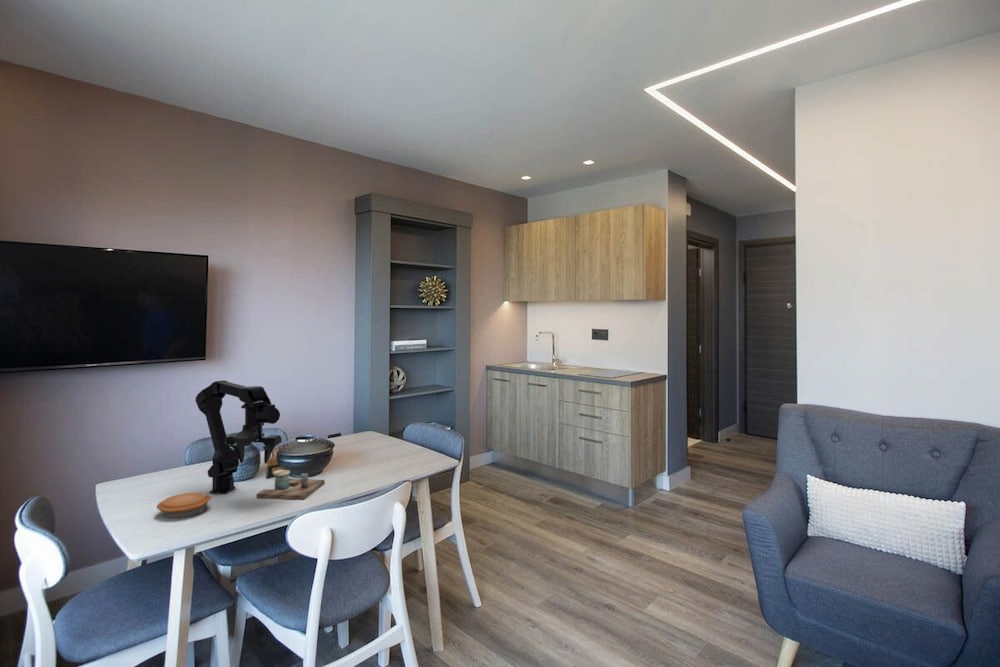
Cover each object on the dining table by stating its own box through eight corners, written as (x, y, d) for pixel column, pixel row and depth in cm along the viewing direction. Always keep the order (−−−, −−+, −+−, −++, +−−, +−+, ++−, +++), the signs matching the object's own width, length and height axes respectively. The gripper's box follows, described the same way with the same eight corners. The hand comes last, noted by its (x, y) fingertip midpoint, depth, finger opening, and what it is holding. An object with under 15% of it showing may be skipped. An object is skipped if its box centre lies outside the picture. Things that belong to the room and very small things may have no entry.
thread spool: (270, 492, 186) (270, 473, 186) (278, 487, 192) (278, 469, 192) (285, 493, 186) (285, 474, 186) (292, 487, 192) (292, 469, 192)
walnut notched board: (256, 497, 181) (256, 480, 180) (281, 481, 199) (281, 466, 198) (303, 499, 179) (303, 482, 179) (324, 483, 197) (324, 467, 197)
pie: (180, 502, 176) (180, 488, 175) (220, 504, 174) (220, 490, 174) (144, 519, 160) (144, 504, 160) (188, 522, 159) (188, 507, 158)
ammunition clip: (267, 478, 202) (267, 450, 202) (265, 477, 204) (265, 449, 203) (293, 473, 210) (293, 445, 210) (291, 472, 211) (291, 444, 211)
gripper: (215, 425, 172) (215, 468, 173) (266, 426, 171) (266, 470, 172) (234, 418, 184) (234, 459, 184) (282, 420, 182) (282, 461, 183)
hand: (253, 463), depth 180 cm, fingers open, 9 cm apart
